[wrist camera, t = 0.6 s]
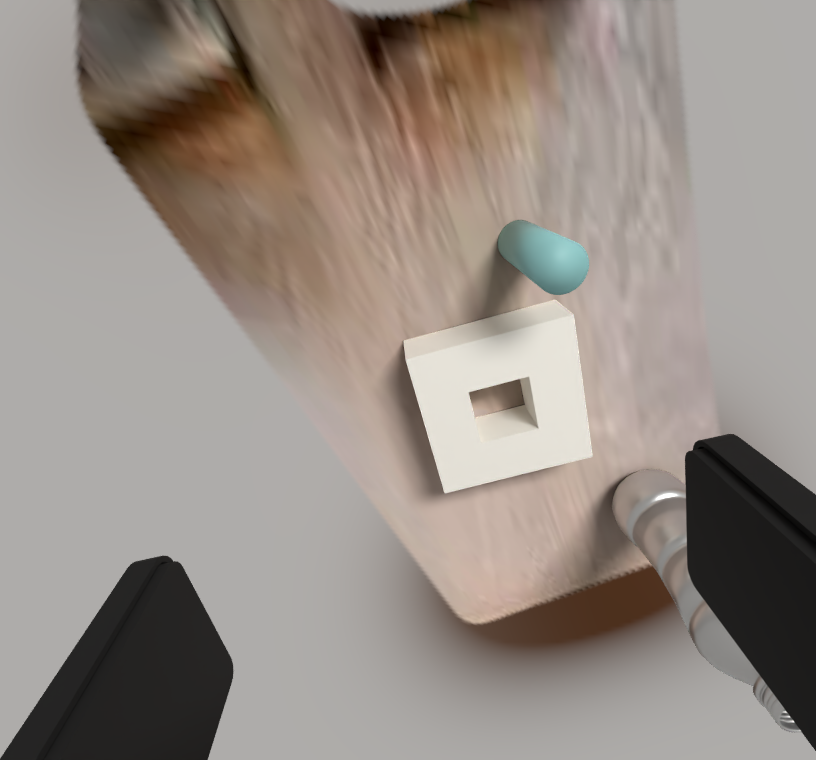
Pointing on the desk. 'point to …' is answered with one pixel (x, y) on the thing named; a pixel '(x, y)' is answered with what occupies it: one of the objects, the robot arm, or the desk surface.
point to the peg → (544, 256)
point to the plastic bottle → (684, 574)
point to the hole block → (491, 365)
